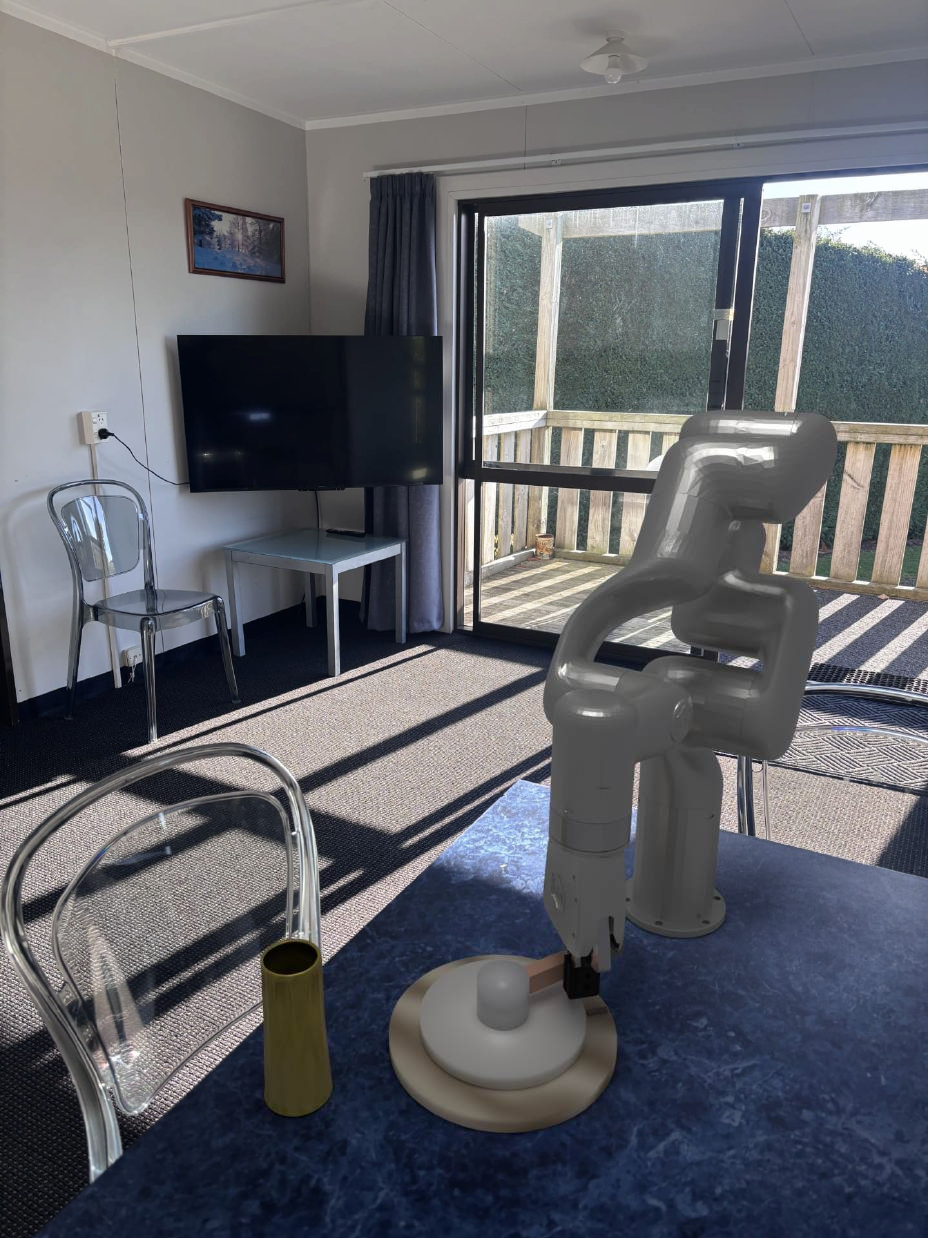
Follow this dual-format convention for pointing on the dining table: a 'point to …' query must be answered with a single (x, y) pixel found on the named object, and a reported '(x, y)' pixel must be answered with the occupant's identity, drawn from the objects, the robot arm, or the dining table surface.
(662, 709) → the robot arm
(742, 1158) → the dining table surface
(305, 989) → the vase
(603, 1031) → the dial base
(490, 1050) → the dial
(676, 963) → the dining table surface
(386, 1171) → the dining table surface
